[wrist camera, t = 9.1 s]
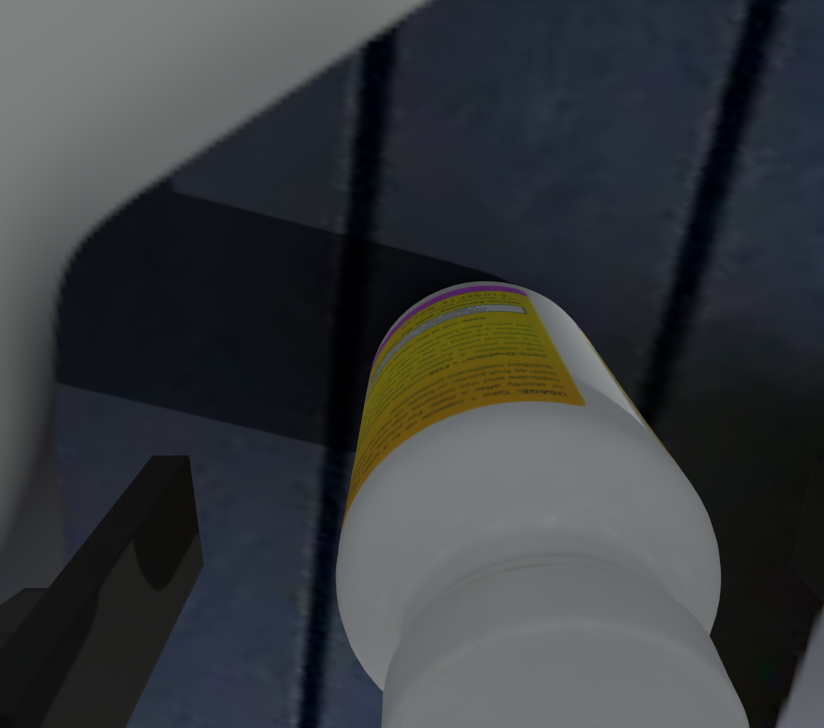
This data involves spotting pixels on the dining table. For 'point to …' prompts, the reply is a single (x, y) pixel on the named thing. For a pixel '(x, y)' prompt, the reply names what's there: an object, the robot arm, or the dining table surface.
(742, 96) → the dining table surface
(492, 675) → the supplement bottle
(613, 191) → the dining table surface
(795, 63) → the dining table surface
